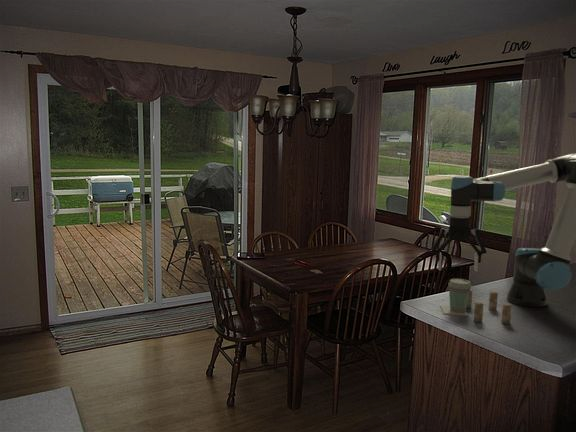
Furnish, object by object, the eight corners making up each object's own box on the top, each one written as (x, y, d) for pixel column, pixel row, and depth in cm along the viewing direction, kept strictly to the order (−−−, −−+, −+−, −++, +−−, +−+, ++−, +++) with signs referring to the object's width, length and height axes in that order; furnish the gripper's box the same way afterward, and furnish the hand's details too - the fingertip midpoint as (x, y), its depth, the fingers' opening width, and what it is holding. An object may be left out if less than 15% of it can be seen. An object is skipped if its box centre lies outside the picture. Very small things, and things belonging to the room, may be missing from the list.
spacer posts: (497, 307, 195) (498, 291, 194) (511, 325, 176) (513, 306, 175) (462, 305, 197) (463, 289, 196) (473, 322, 178) (474, 304, 177)
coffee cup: (466, 315, 184) (469, 285, 182) (444, 311, 189) (446, 281, 187) (471, 309, 191) (473, 280, 189) (449, 305, 196) (451, 276, 194)
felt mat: (463, 308, 194) (463, 307, 194) (467, 315, 185) (467, 314, 185) (440, 306, 195) (440, 305, 195) (443, 314, 187) (443, 313, 187)
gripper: (491, 215, 186) (488, 268, 190) (425, 214, 190) (423, 266, 193) (497, 218, 179) (493, 273, 182) (427, 217, 183) (425, 271, 186)
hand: (457, 270), depth 188 cm, fingers open, 13 cm apart
